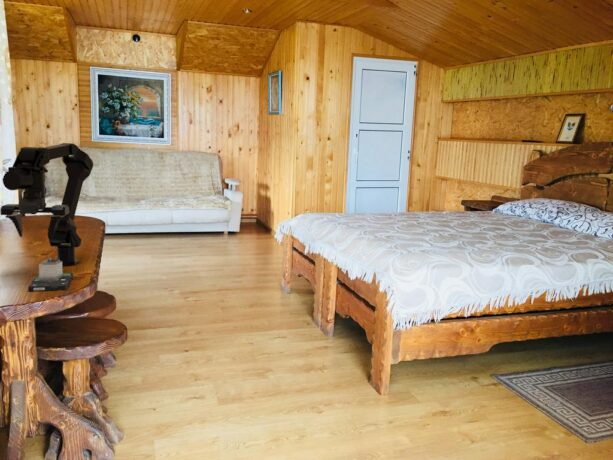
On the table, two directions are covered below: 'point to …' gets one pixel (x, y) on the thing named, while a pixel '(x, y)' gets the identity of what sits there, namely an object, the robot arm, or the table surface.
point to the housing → (50, 270)
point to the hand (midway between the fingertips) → (36, 236)
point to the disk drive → (50, 284)
